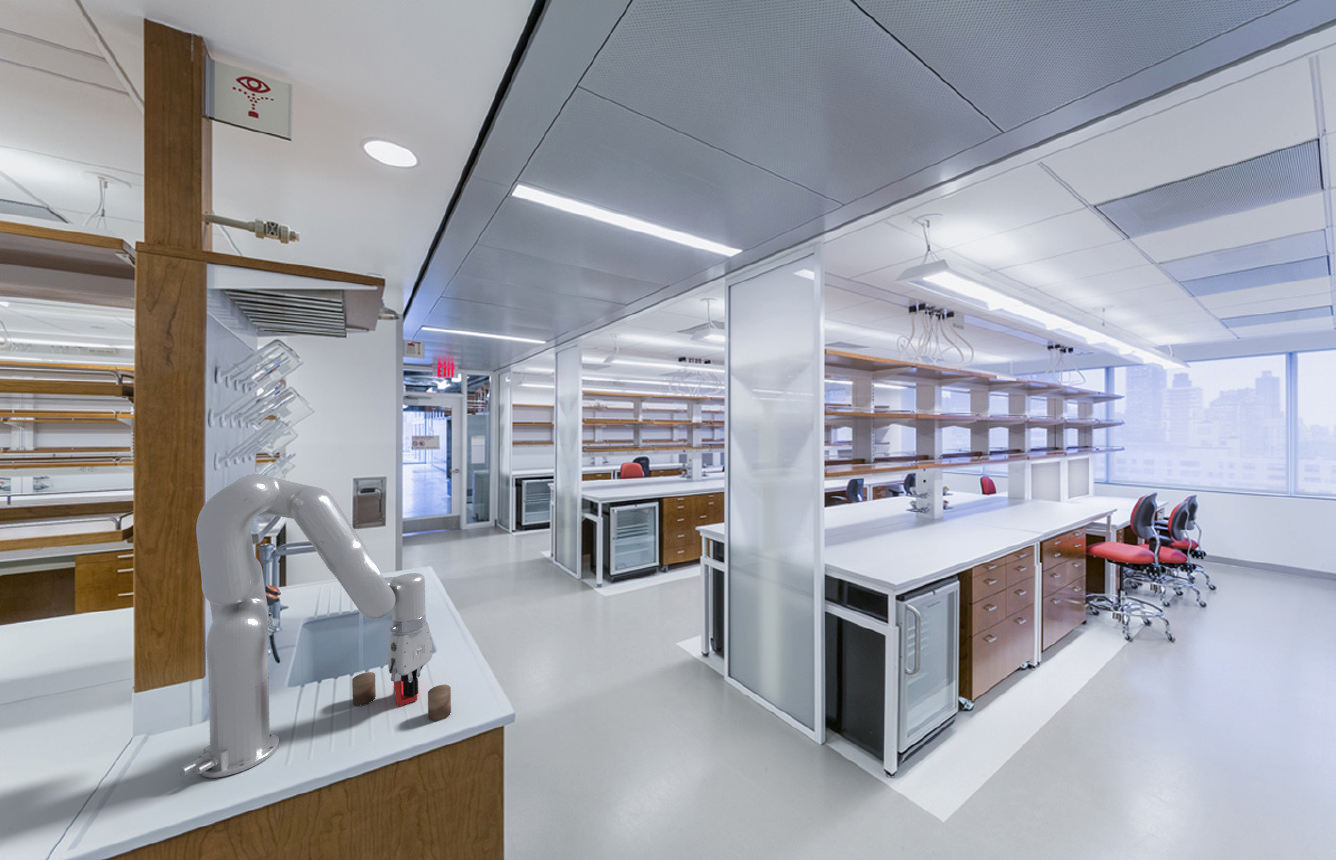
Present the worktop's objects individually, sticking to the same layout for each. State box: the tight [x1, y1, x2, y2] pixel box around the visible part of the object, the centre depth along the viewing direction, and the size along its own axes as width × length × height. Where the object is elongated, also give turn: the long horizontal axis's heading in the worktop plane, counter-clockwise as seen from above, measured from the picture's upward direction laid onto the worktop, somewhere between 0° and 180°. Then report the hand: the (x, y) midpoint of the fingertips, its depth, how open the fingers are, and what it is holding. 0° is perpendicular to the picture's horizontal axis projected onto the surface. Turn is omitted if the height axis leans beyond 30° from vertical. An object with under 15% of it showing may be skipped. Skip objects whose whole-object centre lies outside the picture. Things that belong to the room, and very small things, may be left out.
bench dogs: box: [351, 671, 452, 722], centre depth 119 cm, size 5×29×6 cm, turn 73°
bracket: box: [393, 680, 419, 707], centre depth 126 cm, size 12×4×8 cm, turn 27°
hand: (410, 694), depth 122 cm, fingers closed
